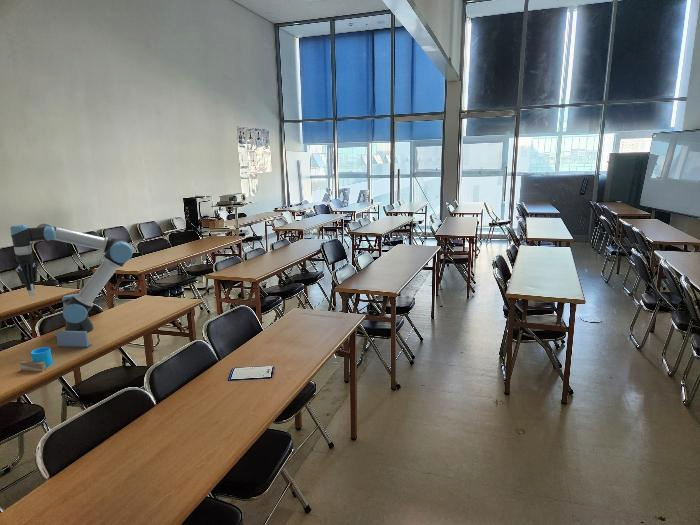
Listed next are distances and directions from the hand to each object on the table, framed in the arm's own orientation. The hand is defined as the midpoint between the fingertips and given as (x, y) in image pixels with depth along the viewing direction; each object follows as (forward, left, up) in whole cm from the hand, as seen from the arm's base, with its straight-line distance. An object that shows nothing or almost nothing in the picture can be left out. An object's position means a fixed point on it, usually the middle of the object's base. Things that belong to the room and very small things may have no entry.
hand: (32, 295), depth 247 cm
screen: (+1, +21, -29) cm, 36 cm away
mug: (+22, +21, -30) cm, 42 cm away
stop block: (+29, +21, -29) cm, 46 cm away
